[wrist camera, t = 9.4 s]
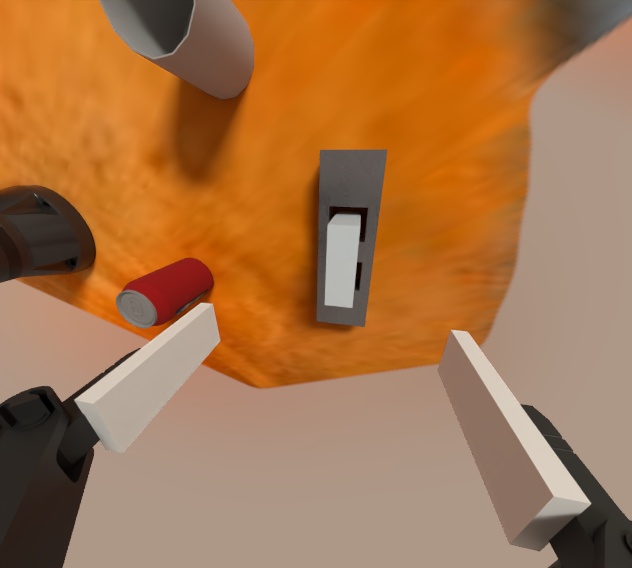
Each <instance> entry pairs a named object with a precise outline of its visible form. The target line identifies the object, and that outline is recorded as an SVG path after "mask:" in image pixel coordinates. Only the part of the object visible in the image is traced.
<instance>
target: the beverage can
mask: <svg viewBox="0 0 632 568" xmlns="http://www.w3.org/2000/svg"><path fill="white" fill-rule="evenodd" d="M212 285H213V278H212V274H211V272H210V270H209V269H208V268H207V266H206V265H205V264H203V263H202V262H201V261H199V260H197V259H194V258H185V259H182V260H180V261H178V262H175V263H173V264H170V265H168V266H166V267H163V268H161V269H159V270H156V271H154V272H152V273H149V274H147V275H145V276H143V277H140V278H138V279H136V280H134V281H131V282H129V283H128V284H127V285H126V286H125V287H124V289H123V290H122V292H121V293H119V294H118V296H117V298H116V305H117V308H118V310H119V312H120V314H121V315H122V316H123V317H124V318H125V319H126V320H127V321H128V322H129V323H131V324H132V325H134V326H136V327H140V328H149V327H151V326H157V325H162V324H164V323H166V322H167V321H169V320H170V319H172V318H173V317H174V316H176V315H177V314H179V313H180V312H181V311H183V310H184V309H186V308H187V307H188V306H190V305H191V304H193V303H194V302H195V301H197V300H198V299H199V298H201V297H202V296H203V295H205V294H206V293H207V292H209V291H210V290H211V288H212Z"/></svg>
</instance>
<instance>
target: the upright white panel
mask: <svg viewBox="0 0 632 568" xmlns="http://www.w3.org/2000/svg"><path fill="white" fill-rule="evenodd" d="M360 222H361V212H346V211H338V212H337V213H336V215H335V216H334V217H333V218H332V220H331V221H330V222H329V223H328V227H327V254H326V281H325V305H329V306H339V307H348V308H352V307H353V297H354V287H355V276H356V266H357V256H358V246H359V235H360Z"/></svg>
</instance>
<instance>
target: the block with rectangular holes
mask: <svg viewBox="0 0 632 568" xmlns="http://www.w3.org/2000/svg"><path fill="white" fill-rule="evenodd" d="M386 156H387V150H320V177H319V226H318V275H317V321H319V322H327V323H335V324H344V325H352V326H360V327H364V326H365V318H366V311H367V303H368V295H369V287H370V280H371V272H372V264H373V256H374V249H375V241H376V233H377V225H378V218H379V210H380V202H381V194H382V187H383V179H384V171H385V164H386ZM333 206H336V207H364V208H367V215H366V225H365V234H364V235H359V246H358V256H357V262H361V271H360V279H355V287H354V297H353V307H352V308H348V307H339V306H329V305H325V281H326V254H327V227H328V223H329V222H330V221H331V220H332V218H333Z"/></svg>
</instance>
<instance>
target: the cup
mask: <svg viewBox="0 0 632 568" xmlns="http://www.w3.org/2000/svg"><path fill="white" fill-rule="evenodd" d="M99 1H100V3H101V5H102V7H103V9H104V11H105V13H106V15H107V17H108V19H109V22H110V24H111V26H112V28H113V30H114V31H115V32H116V33H117V34H118V35H119V36H120V38H121V39H122V40H123V41H124V42H125V43H126V44H127V45H128V46H129V47H130V48H131V49H132V50H133V51H134V52H136V53H137V54H139V55H141V56H143V57H144V58H146V59H148V60H150V61H151V62H153V63H155V64H157V65H158V66H160V67H162V68H164V69H165V70H167V71H169V72H171V73H172V74H174V75H176V76H177V77H179V78H181V79H183V80H184V81H186V82H188V83H190V84H191V85H193V86H195V87H197V88H198V89H200V90H202V91H204V92H205V93H207V94H209V95H212V96H214V97H217V98H219V99H222V100H223V99H228V98H233V97H236V96H237V95H238V94H239V93H240V92H241V91H242V90H243V89H244V88H245V87H246V86H247V85H248V82H249V80H250V77H251V74H252V71H253V68H254V43H253V40H252V37H251V34H250V31H249V28H248V25H247V22H246V21H245V19H244V18H243V17H242V15H241V14H240V12H239V11H238V10H237V8H236V7H235V5H234V4H233V3H232V1H231V0H99Z"/></svg>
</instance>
